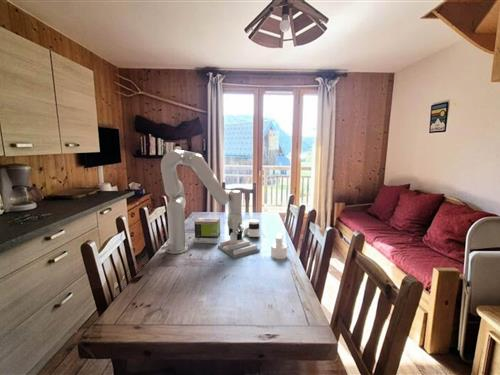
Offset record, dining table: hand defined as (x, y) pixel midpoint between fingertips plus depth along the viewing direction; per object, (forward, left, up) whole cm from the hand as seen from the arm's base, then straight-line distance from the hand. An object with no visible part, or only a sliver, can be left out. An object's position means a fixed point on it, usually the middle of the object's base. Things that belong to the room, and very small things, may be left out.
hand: (235, 237), depth 159 cm
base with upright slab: (+15, -24, -7) cm, 29 cm away
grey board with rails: (0, -4, -7) cm, 8 cm away
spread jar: (+20, +11, -7) cm, 24 cm away
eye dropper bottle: (0, 0, -5) cm, 5 cm away
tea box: (-9, +20, -7) cm, 23 cm away
